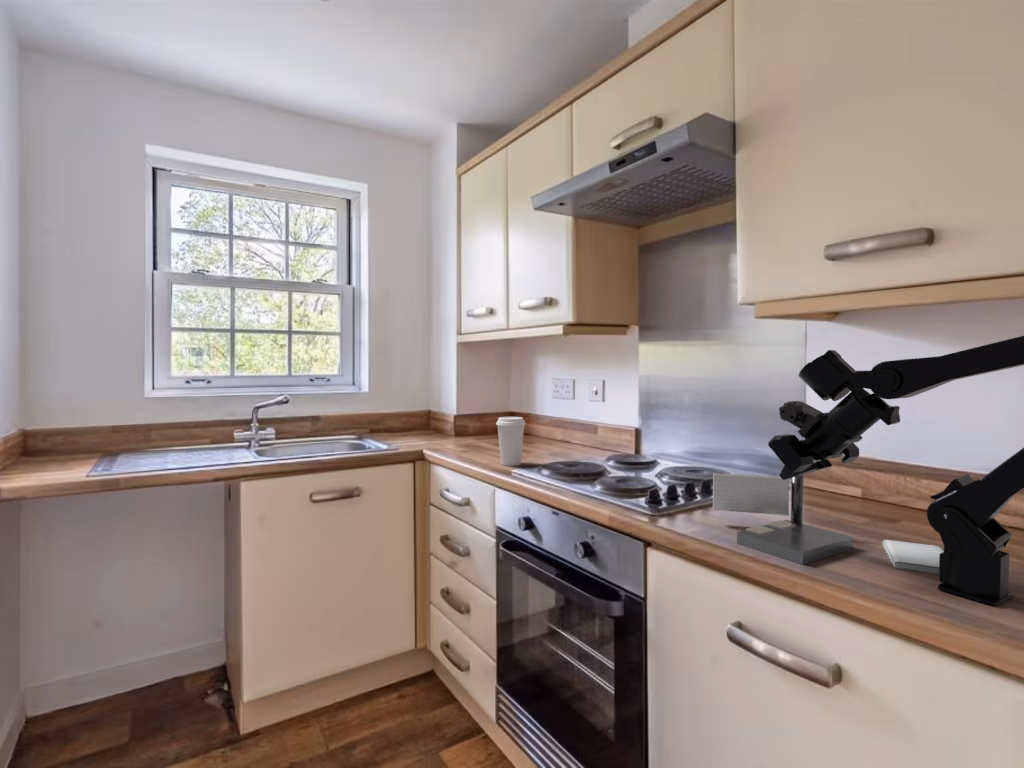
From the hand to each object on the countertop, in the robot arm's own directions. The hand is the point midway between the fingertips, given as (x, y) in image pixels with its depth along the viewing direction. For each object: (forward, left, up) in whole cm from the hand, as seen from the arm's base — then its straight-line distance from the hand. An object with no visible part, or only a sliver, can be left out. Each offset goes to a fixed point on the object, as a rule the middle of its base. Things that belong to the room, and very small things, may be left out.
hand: (782, 477), depth 97 cm
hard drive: (-17, -10, -12) cm, 24 cm away
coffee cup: (+90, +4, -12) cm, 91 cm away
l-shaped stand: (-3, 0, -11) cm, 12 cm away
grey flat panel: (+8, -2, -8) cm, 12 cm away
